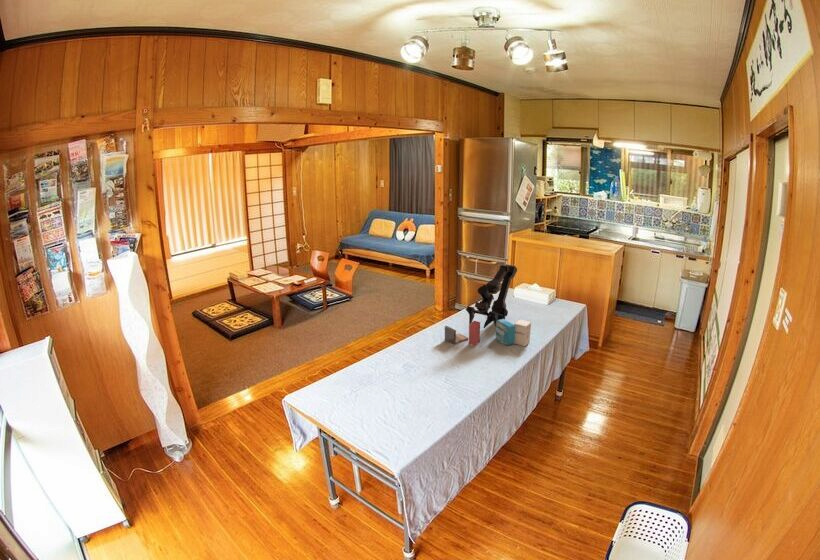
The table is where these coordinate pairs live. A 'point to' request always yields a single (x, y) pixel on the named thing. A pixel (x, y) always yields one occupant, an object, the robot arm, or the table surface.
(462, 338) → the tan flat rectangular slab
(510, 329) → the data package
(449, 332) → the metal bookend
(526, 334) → the supplement box
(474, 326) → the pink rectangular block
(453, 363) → the table surface
